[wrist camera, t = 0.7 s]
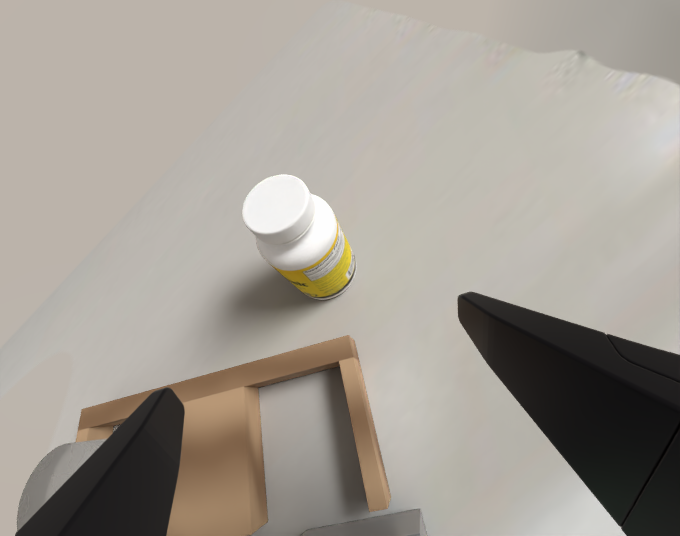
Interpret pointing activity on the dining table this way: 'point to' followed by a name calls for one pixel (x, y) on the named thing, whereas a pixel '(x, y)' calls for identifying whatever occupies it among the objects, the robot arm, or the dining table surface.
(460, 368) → the dining table surface
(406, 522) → the button housing
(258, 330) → the dining table surface
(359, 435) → the frame
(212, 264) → the dining table surface
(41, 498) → the seated steel billet
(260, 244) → the supplement bottle
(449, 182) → the dining table surface
